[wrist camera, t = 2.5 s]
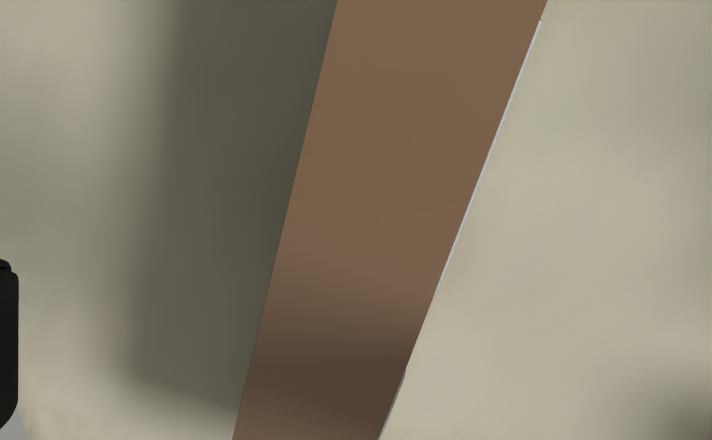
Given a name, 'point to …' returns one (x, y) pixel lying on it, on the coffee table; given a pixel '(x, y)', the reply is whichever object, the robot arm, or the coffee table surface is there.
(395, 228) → the tall brown box
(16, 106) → the coffee table surface
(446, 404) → the coffee table surface
